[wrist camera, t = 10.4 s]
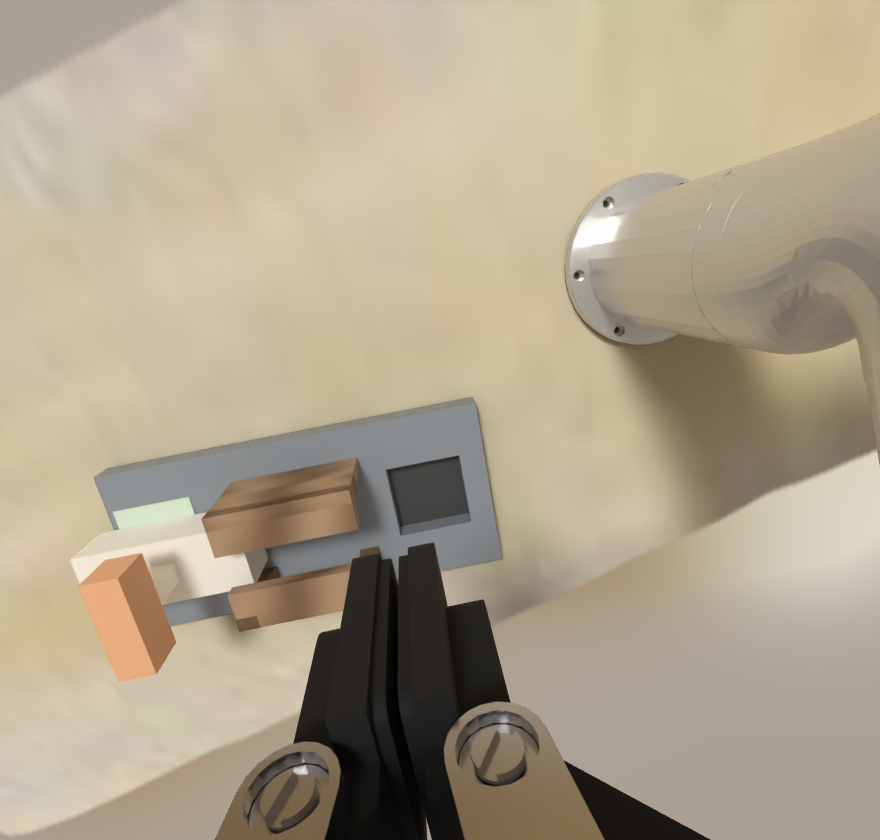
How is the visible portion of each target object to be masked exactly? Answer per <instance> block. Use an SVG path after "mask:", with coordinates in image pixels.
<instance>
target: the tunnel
mask: <svg viewBox="0 0 880 840" xmlns="http://www.w3.org/2000/svg"><path fill="white" fill-rule="evenodd" d="M358 474H359V464H358V460H357V457H356V458H351V459H346V460H341V461H335V462H330V463H325V464H320V465H315V466H310V467H305V468H300V469H295V470H290V471H285V472H280V473H275V474H269V475H264V476H259V477H254V478H249V479H244V480H239V481H234V482H231V483H230V485H229V486H228V487H227V488H226V489H225V491H224V492H223V493H222V494H221V496H220V497H219V498H218V499H217V500H216V502H215V503H214V504H213V505H212V507H211V508H210V509H209V510H208V512H207V513H206V514H205V515H204V516H203V518H202V519H201V520H202V523H203V526H204V529H205V532H206V535H207V537H208V540H209V543H210V546H211V549H212V552H213V555H214V558H219V557H224V556H229V555H234V554H239V553H244V552H249V551H254V550H259V549H264V548H269V547H274V546H279V545H284V544H289V543H294V542H299V541H304V540H309V539H314V538H319V537H324V536H329V535H334V534H339V533H344V532H349V531H354V530H359V526H360V521H359V517H358V513H357V509H356V505H355V501H354V493H355V489H356V484H357V479H358ZM377 553H380V551H379V547H378V546H376V547H371V548H366V549H361V550H360V557H363V556H367V555H372V554H377ZM350 569H351V564H346V565H341V566H336V567H331V568H327V569H322V570H317V571H312V572H307V573H302V574H297V575H292V576H287V577H282V578H280V577H281V576H280V573H279V570H278V567H277V566H276V567H272V568H267V569H263V570H262V573H261V575H260V577H259V579H258V581H257V583H252V584H247V585H242V586H237V587H232V588H231V590H230V592H229V594H228V599H229V602H230V605H231V607H232V610H233V613H234V616H235V619H236V622H237V625H238V628H239V631H245V630H250V629H255V628H260V627H265V626H270V625H274V624H279V623H284V622H289V621H294V620H299V619H304V618H309V617H314V616H319V615H324V614H329V613H333V612H338V611H343V610H344V604H345V598H346V592H347V586H348V580H349V575H350Z"/></svg>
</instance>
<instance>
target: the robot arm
mask: <svg viewBox="0 0 880 840" xmlns="http://www.w3.org/2000/svg"><path fill="white" fill-rule="evenodd" d="M603 201H606V202H607V207H606V208H604V206H603ZM576 272H577V273H578V278H577V279H574V277H573V276H574V273H576ZM565 276H566V284H567V288H568V292H569V296H570V298H571V300H572V303H573V305H574V307H575V309H576V311H577V312H578V313H579V315H580V316H581V317H582V319H583V320H584V321H585V322H586V323H587V324H588V325H589V326H590V327H591V328H592V329H594V330H595V331H596V332H598V333H600V334H601V335H603V336H605V337H607V338H609V339H612V340H615V341H618V342H622V343H627V344H632V345H647V344H652V343H657V342H662V341H664V340H667V339H669V338H672V337H674V336H676V335H678V334H681V335H685V336H690V337H695V338H700V339H704V340H709V341H714V342H719V343H723V344H728V345H733V346H738V347H743V348H749V349H754V350H759V351H763V352H769V353H776V354H805V353H812V352H817V351H821V350H825V349H828V348H832V347H835V346H838V345H841V344H844V343H846V342H848V341H851V340H853V339H855V338H857V343H858V347H859V353H860V358H861V364H862V371H863V376H864V380H865V382H866V383H867V388H868V394H869V400H870V407H871V413H872V420H873V426H874V432H875V439H876V445H877V451H878V458H879V463H880V113H879V114H877V115H875V116H873V117H871V118H868V119H866V120H864V121H862V122H860V123H858V124H855V125H853V126H850V127H847V128H845V129H842V130H839V131H837V132H834V133H832V134H829V135H826V136H824V137H821V138H818V139H816V140H813V141H810V142H808V143H805V144H802V145H799V146H796V147H793V148H790V149H787V150H784V151H781V152H778V153H775V154H772V155H769V156H766V157H764V158H761V159H758V160H755V161H752V162H749V163H746V164H743V165H740V166H737V167H734V168H730V169H727V170H724V171H721V172H718V173H715V174H712V175H709V176H706V177H703V178H700V179H696V180H693V181H689V180H687V179H684V178H682V177H679V176H676V175H672V174H665V173H649V174H641V175H638V176H634V177H631V178H628V179H625V180H623V181H621V182H619V183H616V184H614V185H613V186H611V187H610V188H608V189H607V190H605V191H604V192H602V193H601V194H600V195H599V196H598V197H597V198H596V199H595V200H593V201H592V202H591V203H590V204H589V205H588V207H587V208H586V210H585V211H584V212H583V214H582V215H581V216H580V218H579V219H578V221H577V223H576V225H575V227H574V229H573V231H572V233H571V237H570V240H569V243H568V247H567V251H566V260H565ZM616 327H617V328H618V331H617V332H616V333H614V329H615V328H616ZM426 818H427V822H428V826H429V830H430V834H431V838H432V840H710V839H708V838H706V837H704V836H702V835H701V834H699V833H697V832H695V831H693V830H692V829H689V828H688V827H686V826H684V825H682V824H680V823H678V822H676V821H675V820H673V819H671V818H669V817H667V816H666V815H664V814H661V813H660V812H658V811H656V810H654V809H653V808H651V807H649V806H647V805H645V804H643V803H642V802H640V801H638V800H636V799H634V798H632V797H630V796H629V795H627V794H625V793H623V792H621V791H619V790H618V789H616V788H614V787H612V786H610V785H608V784H606V783H605V782H602V781H601V780H599V779H597V778H595V777H593V776H592V775H590V774H588V773H586V772H584V771H582V770H581V769H578V768H577V767H575V766H573V765H571V764H569V763H567V762H566V761H564V760H563V759H562V757H561V755H560V753H559V751H558V749H557V747H556V745H555V743H554V741H553V739H552V737H551V735H550V733H549V732H548V730H547V728H546V726H545V725H544V724H543V722H542V721H541V720H540V718H539V717H538V716H537V715H535V714H534V713H533V712H531V711H530V710H528V709H527V708H525V707H523V706H520V705H517V704H514V703H510V699H509V695H508V692H507V688H506V684H505V680H504V676H503V673H502V668H501V664H500V660H499V656H498V653H497V649H496V645H495V641H494V637H493V633H492V629H491V625H490V621H489V618H488V614H487V610H486V606H485V602H484V600H478V601H473V602H468V603H463V604H458V605H454V606H449V607H448V606H447V601H446V596H445V592H444V587H443V582H442V577H441V572H440V567H439V563H438V558H437V553H436V548H435V544H434V542H432V543H427V544H422V545H417V546H412V547H408V555H404V556H399V568H398V583H397V579H396V574H395V570H394V566H393V562H392V559H391V558H389V559H384V560H382V557H381V555H380V553H377V554H372V555H367V556H363V557H358V558H353V559H352V563H351V569H350V575H349V580H348V586H347V592H346V598H345V604H344V610H343V616H342V621H341V627H340V629H336V630H331V631H326V632H322V633H320V634H319V636H318V639H317V643H316V647H315V651H314V656H313V660H312V665H311V669H310V673H309V678H308V682H307V686H306V691H305V695H304V700H303V704H302V708H301V713H300V717H299V721H298V726H297V730H296V735H295V739H294V743H293V744H291V745H288V746H286V747H283V748H281V749H279V750H277V751H275V752H273V753H272V754H270V755H269V756H268V757H266V758H265V759H264V760H262V761H261V762H260V763H258V764H257V765H256V766H255V768H254V769H253V770H252V771H251V772H250V773H249V774H248V775H247V776H246V777H245V779H244V781H243V782H242V784H241V786H240V787H239V789H238V791H237V792H236V794H235V796H234V799H233V801H232V803H231V805H230V807H229V810H228V812H227V814H226V816H225V818H224V821H223V823H222V825H221V827H220V829H219V831H218V834H217V836H216V838H215V840H427V827H426Z"/></svg>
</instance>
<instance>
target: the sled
mask: <svg viewBox="0 0 880 840" xmlns="http://www.w3.org/2000/svg"><path fill="white" fill-rule="evenodd" d="M206 513H207V512H205V513H200V514H195V515H190V516H185V517H180V518H174V519H169V520H164V521H159V522H154V523H149V524H144V525H139V526H134V527H129V528H124V529H119V530H114V531H109V532H104V533H100V534H99V535H98V536H97V537H96V538H94V539H93V540H92V541H91V542H90V543H89V544H87V545H86V546H85V547H84V548H83V549H82V550H81V551H79V552H78V553H77V554H76V555H75V556H74V557H72V558H71V559H70V562H71V564H72V566H73V568H74V571H75V573H76V575H77V578H78V580H79V582H80V584H79V585H78V586H77V587H78V590H79V592H80V594H81V597H82V599H83V601H84V604H85V606H86V608H87V610H88V613H89V615H90V617H91V620H92V622H93V624H94V627H95V629H96V631H97V633H98V636H99V638H100V640H101V643H102V645H103V647H104V650H105V652H106V654H107V656H108V659H109V661H110V663H111V666H112V668H113V670H114V673H115V675H116V677H117V680H118V682H121V681H126V680H131V679H136V678H141V677H146V676H150V675H155V674H157V673H158V671H159V669H160V668H161V666H162V664H163V663H164V661H165V660H166V658H167V656H168V655H169V653H170V651H171V650H172V648H173V646H174V645H175V643H176V640H175V638H174V635H173V632H172V630H171V627H170V625H169V622H168V619H167V617H166V614H165V612H164V609H163V606H162V605H164V604H169V603H174V602H179V601H184V600H189V599H194V598H199V597H204V596H209V595H214V594H219V593H224V592H229V591H230V590H231V588H232V587H237V586H242V585H247V584H252V583H257V581H258V579H259V577H260V575H261V573H262V570H263V568H264V566H265V564H266V562H267V560H268V556H267V553H266V549H265V548H264V549H259V550H254V551H249V552H244V553H239V554H234V555H229V556H224V557H219V558H214V555H213V552H212V549H211V546H210V543H209V540H208V537H207V535H206V532H205V529H204V526H203V523H202V520H201V519H202V518H203V516H204V515H205V514H206Z"/></svg>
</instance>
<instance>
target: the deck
mask: <svg viewBox="0 0 880 840" xmlns="http://www.w3.org/2000/svg"><path fill="white" fill-rule="evenodd" d="M356 457H357V460H358V464H359V474H358V479H357V484H356V489H355V493H354V501H355V505H356V509H357V513H358V517H359V521H360V526H359V530H354V531H349V532H344V533H339V534H334V535H329V536H324V537H319V538H314V539H309V540H304V541H299V542H294V543H289V544H284V545H279V546H274V547H269V548H265V549H266V553H267V556H268V560H267V562H266V564H265V566H264V568H263V569H267V568H272V567H276V566H277V567H278V570H279V573H280V576H281V577H280V578H282V577H287V576H292V575H297V574H302V573H307V572H312V571H317V570H322V569H327V568H331V567H336V566H341V565H346V564H351V563H352V559H353V558H358V557H360V550H361V549H366V548H371V547H376V546H378V547H379V551H380V555H381V557H382V560H384V559H389V558H391V559H392V562H393V566H394V570H395V574H396V579H397V580H398V568H399V556H404V555H408V547H412V546H417V545H422V544H427V543H432V542H434V544H435V548H436V553H437V558H438V563H439V567H440V571H444V570H449V569H454V568H459V567H464V566H469V565H474V564H479V563H484V562H489V561H494V560H498V559H502V557H501V551H500V545H499V539H498V533H497V527H496V521H495V515H494V509H493V504H492V498H491V492H490V486H489V480H488V474H487V468H486V462H485V456H484V450H483V444H482V438H481V432H480V426H479V420H478V414H477V408H476V403H475V401H474V399H473V398H472V397H471V398H465V399H460V400H455V401H450V402H445V403H440V404H435V405H430V406H424V407H419V408H414V409H409V410H404V411H399V412H394V413H389V414H383V415H378V416H373V417H368V418H363V419H358V420H353V421H348V422H343V423H337V424H332V425H327V426H322V427H317V428H312V429H307V430H302V431H296V432H291V433H286V434H281V435H276V436H271V437H266V438H261V439H256V440H250V441H245V442H240V443H235V444H230V445H225V446H220V447H215V448H209V449H204V450H199V451H194V452H189V453H184V454H179V455H174V456H168V457H163V458H158V459H153V460H148V461H143V462H138V463H133V464H128V465H122V466H117V467H112V468H107V469H106V470H104V471H103V472H101V473H100V474H98V475H97V476H95V477H94V480H95V483H96V485H97V488H98V490H99V493H100V495H101V498H102V500H103V503H104V505H105V508H106V511H107V513H108V516H109V518H110V521H111V523H112V526H113V528H114V530H119V529H124V528H129V527H134V526H139V525H144V524H149V523H154V522H159V521H164V520H169V519H174V518H180V517H185V516H190V515H195V514H200V513H205V512H208V510H209V509H210V508H211V507H212V505H213V504H214V503H215V502H216V500H217V499H218V498H219V497H220V496H221V494H222V493H223V492H224V491H225V489H226V488H227V487H228V486H229V485H230V483H231V482H234V481H239V480H244V479H249V478H254V477H259V476H264V475H269V474H275V473H280V472H285V471H290V470H295V469H300V468H305V467H310V466H315V465H320V464H325V463H330V462H335V461H341V460H346V459H351V458H356ZM229 592H230V591H229ZM229 592H224V593H219V594H214V595H209V596H204V597H199V598H194V599H189V600H184V601H179V602H174V603H169V604H164V605H162V606H163V609H164V612H165V614H166V617H167V619H168V622H169V625H170V626H173V625H178V624H183V623H187V622H192V621H197V620H202V619H207V618H212V617H217V616H222V615H227V614H232V613H233V610H232V607H231V605H230V602H229V599H228V594H229Z"/></svg>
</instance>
